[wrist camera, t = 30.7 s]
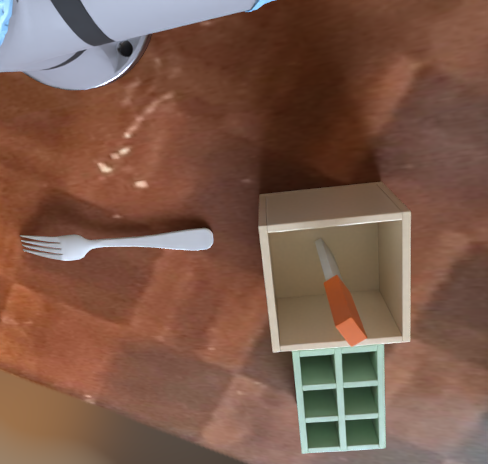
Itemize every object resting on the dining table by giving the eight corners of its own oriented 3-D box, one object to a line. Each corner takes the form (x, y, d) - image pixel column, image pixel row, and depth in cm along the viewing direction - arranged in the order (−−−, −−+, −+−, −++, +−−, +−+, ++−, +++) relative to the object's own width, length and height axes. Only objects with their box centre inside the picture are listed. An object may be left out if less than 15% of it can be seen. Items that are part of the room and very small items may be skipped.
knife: (324, 260, 49) (352, 348, 34) (312, 243, 48) (334, 325, 33) (335, 253, 48) (368, 339, 33) (323, 235, 48) (350, 315, 33)
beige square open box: (271, 300, 51) (272, 352, 42) (259, 194, 47) (258, 226, 38) (383, 290, 51) (410, 341, 41) (381, 181, 46) (411, 210, 37)
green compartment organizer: (297, 406, 56) (301, 453, 50) (288, 313, 52) (291, 351, 45) (370, 401, 56) (386, 448, 49) (368, 306, 51) (384, 344, 44)
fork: (213, 241, 52) (213, 251, 49) (24, 254, 51) (14, 264, 48) (211, 217, 51) (212, 226, 48) (19, 230, 50) (8, 239, 47)
